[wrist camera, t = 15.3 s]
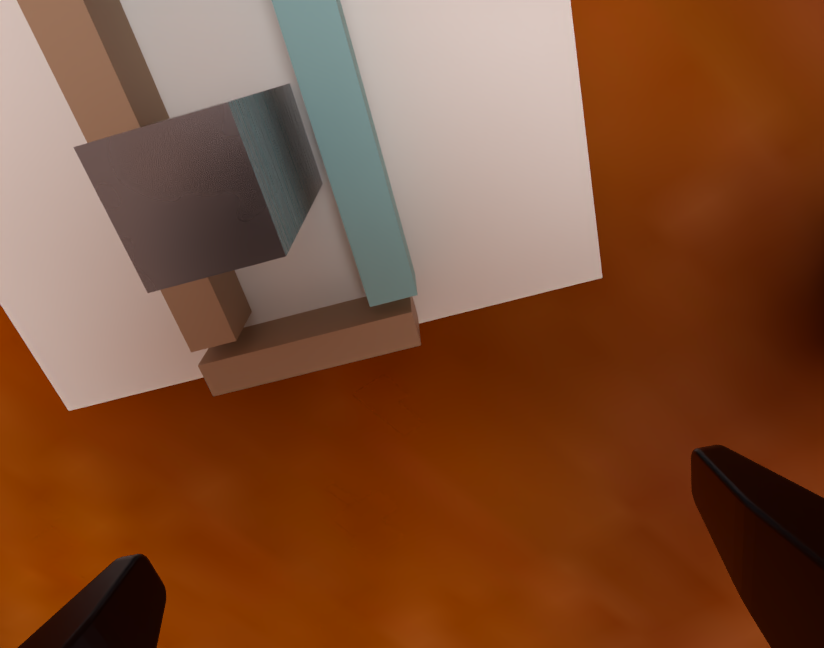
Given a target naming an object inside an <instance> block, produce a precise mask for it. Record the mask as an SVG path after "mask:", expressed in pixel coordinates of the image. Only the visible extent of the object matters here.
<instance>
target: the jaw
mask: <svg viewBox="0 0 824 648" xmlns="http://www.w3.org/2000/svg"><path fill="white" fill-rule="evenodd" d="M272 4H273V7H274V10H275V13H276V16H277V19H278V22H279V25H280V28H281V32H282V35H283V38H284V41H285V44H286V47H287V50H288V53H289V57H290V60H291V63H292V66H293V69H294V72H295V75H296V78H297V81H298V85H299V88H300V91H301V94H302V97H303V100H304V103H305V106H306V109H307V113H308V116H309V119H310V122H311V125H312V128H313V131H314V134H315V137H316V141H317V144H318V147H319V150H320V153H321V156H322V159H323V162H324V165H325V169H326V172H327V175H328V178H329V181H330V184H331V187H332V190H333V194H334V197H335V200H336V203H337V206H338V209H339V212H340V215H341V218H342V222H343V225H344V228H345V231H346V234H347V237H348V240H349V243H350V246H351V250H352V253H353V256H354V259H355V262H356V265H357V268H358V271H359V274H360V278H361V281H362V284H363V287H364V290H365V293H366V296H367V299H368V302H369V306H370V307H372V306H376V305H380V304H384V303H388V302H392V301H396V300H400V299H404V298H408V297H412V296H416V295H418V294H417V286H416V277H415V272H414V268H413V264H412V261H411V257H410V253H409V250H408V246H407V243H406V239H405V235H404V232H403V228H402V224H401V221H400V217H399V213H398V210H397V206H396V202H395V199H394V195H393V191H392V188H391V184H390V181H389V177H388V173H387V170H386V166H385V162H384V159H383V155H382V151H381V148H380V144H379V140H378V137H377V133H376V129H375V126H374V122H373V119H372V115H371V111H370V108H369V104H368V100H367V97H366V93H365V89H364V86H363V82H362V78H361V75H360V71H359V67H358V64H357V60H356V57H355V53H354V49H353V46H352V42H351V38H350V35H349V31H348V27H347V24H346V20H345V16H344V13H343V9H342V5H341V2H340V0H272Z"/></svg>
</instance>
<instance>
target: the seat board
mask: <svg viewBox="0 0 824 648" xmlns="http://www.w3.org/2000/svg"><path fill="white" fill-rule="evenodd" d="M340 2H341V5H342V9H343V13H344V16H345V20H346V24H347V27H348V31H349V35H350V38H351V42H352V46H353V49H354V53H355V57H356V60H357V64H358V67H359V71H360V75H361V78H362V82H363V86H364V89H365V93H366V97H367V100H368V104H369V108H370V111H371V115H372V119H373V122H374V126H375V129H376V133H377V137H378V140H379V144H380V148H381V151H382V155H383V159H384V162H385V166H386V170H387V173H388V177H389V181H390V184H391V188H392V191H393V195H394V199H395V202H396V206H397V210H398V213H399V217H400V221H401V224H402V228H403V232H404V235H405V239H406V243H407V246H408V250H409V253H410V257H411V261H412V264H413V268H414V272H415V277H416V286H417V294H418V295H416V296H412V297H408V298H404V299H400V300H396V301H392V302H388V303H384V304H380V305H376V306H372V307H370V306H369V302H368V299H367V296H366V293H365V290H364V287H363V284H362V281H361V278H360V274H359V271H358V268H357V265H356V262H355V259H354V256H353V253H352V250H351V246H350V243H349V240H348V237H347V234H346V231H345V228H344V225H343V222H342V218H341V215H340V212H339V209H338V206H337V203H336V200H335V197H334V194H333V190H332V187H331V184H330V181H329V178H328V175H327V172H326V169H325V165H324V162H323V159H322V156H321V153H320V150H319V147H318V144H317V141H316V137H315V134H314V131H313V128H312V125H311V122H310V119H309V116H308V113H307V109H306V106H305V103H304V100H303V97H302V94H301V91H300V88H299V85H298V81H297V78H296V75H295V72H294V69H293V66H292V63H291V60H290V57H289V53H288V50H287V47H286V44H285V41H284V38H283V35H282V32H281V28H280V25H279V22H278V19H277V16H276V13H275V10H274V7H273V4H272V0H0V304H1V306H2V308H3V309H4V311H5V312H6V314H7V315H8V317H9V318H10V320H11V322H12V323H13V325H14V326H15V328H16V329H17V331H18V333H19V334H20V336H21V337H22V339H23V340H24V342H25V343H26V345H27V347H28V348H29V350H30V351H31V353H32V354H33V356H34V358H35V359H36V361H37V362H38V364H39V365H40V367H41V368H42V370H43V372H44V373H45V375H46V376H47V378H48V379H49V381H50V382H51V384H52V386H53V387H54V389H55V390H56V392H57V393H58V395H59V397H60V398H61V400H62V401H63V403H64V404H65V406H66V407H67V409H68V411H71V410H75V409H79V408H83V407H87V406H91V405H95V404H99V403H103V402H107V401H111V400H115V399H119V398H123V397H127V396H131V395H135V394H139V393H143V392H147V391H151V390H155V389H159V388H163V387H167V386H171V385H175V384H179V383H183V382H187V381H191V380H195V379H199V378H203V377H204V379H205V381H206V383H207V385H208V387H209V389H210V391H211V393H212V395H213V396H217V395H222V394H226V393H230V392H234V391H238V390H242V389H246V388H250V387H254V386H258V385H262V384H266V383H270V382H274V381H278V380H282V379H286V378H291V377H295V376H299V375H303V374H307V373H311V372H315V371H319V370H323V369H327V368H331V367H335V366H339V365H343V364H347V363H351V362H355V361H360V360H364V359H368V358H372V357H376V356H380V355H384V354H388V353H392V352H396V351H400V350H404V349H408V348H412V347H416V346H420V345H421V339H420V330H419V324H420V323H424V322H428V321H432V320H436V319H440V318H444V317H448V316H452V315H456V314H460V313H464V312H468V311H472V310H476V309H480V308H484V307H488V306H492V305H496V304H500V303H504V302H508V301H512V300H516V299H520V298H524V297H528V296H532V295H536V294H540V293H544V292H548V291H552V290H556V289H560V288H564V287H568V286H572V285H576V284H580V283H584V282H588V281H592V280H596V279H600V278H603V277H602V269H601V260H600V251H599V243H598V234H597V226H596V217H595V209H594V200H593V191H592V183H591V174H590V166H589V157H588V148H587V140H586V131H585V123H584V114H583V106H582V97H581V88H580V80H579V71H578V63H577V54H576V45H575V37H574V28H573V20H572V11H571V3H570V0H340ZM289 83H290V86H291V89H292V92H293V95H294V98H295V101H296V104H297V107H298V110H299V113H300V116H301V119H302V122H303V125H304V128H305V131H306V134H307V137H308V140H309V143H310V146H311V149H312V152H313V155H314V158H315V161H316V165H317V168H318V171H319V174H320V177H321V180H322V183H323V184H322V186H321V188H320V190H319V192H318V194H317V196H316V198H315V200H314V202H313V204H312V206H311V208H310V210H309V212H308V214H307V216H306V218H305V220H304V222H303V224H302V226H301V228H300V230H299V232H298V234H297V236H296V238H295V240H294V242H293V244H292V246H291V248H290V250H289V252H288V254H287V256H286V257H282V258H278V259H275V260H271V261H267V262H263V263H260V264H256V265H252V266H248V267H245V268H241V269H237V270H233V271H230V272H226V273H222V274H218V275H214V276H211V277H207V278H203V279H199V280H196V281H192V282H188V283H184V284H181V285H177V286H173V287H169V288H166V289H162V290H158V291H154V292H151V293H147V291H146V289H145V287H144V285H143V283H142V281H141V279H140V277H139V275H138V273H137V271H136V269H135V267H134V265H133V263H132V261H131V259H130V257H129V255H128V253H127V251H126V250H125V248H124V246H123V244H122V242H121V240H120V238H119V236H118V234H117V232H116V230H115V228H114V226H113V224H112V222H111V220H110V218H109V216H108V214H107V212H106V210H105V208H104V206H103V204H102V202H101V201H100V199H99V197H98V195H97V193H96V191H95V189H94V187H93V185H92V183H91V181H90V179H89V177H88V175H87V173H86V171H85V169H84V167H83V165H82V163H81V161H80V159H79V157H78V155H77V153H76V151H75V150H74V148H73V147H76V146H79V145H82V144H86V143H89V142H92V141H96V140H99V139H102V138H106V137H109V136H112V135H116V134H119V133H122V132H126V131H129V130H132V129H136V128H139V127H142V126H146V125H149V124H152V123H156V122H159V121H162V120H166V119H169V118H172V117H176V116H179V115H182V114H186V113H189V112H192V111H196V110H199V109H203V108H206V107H210V106H213V105H216V104H220V103H223V102H227V101H230V100H234V99H237V98H241V97H244V96H247V95H251V94H254V93H258V92H261V91H265V90H268V89H271V88H275V87H278V86H282V85H285V84H289Z"/></svg>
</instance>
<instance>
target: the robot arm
mask: <svg viewBox="0 0 824 648" xmlns="http://www.w3.org/2000/svg"><path fill="white" fill-rule="evenodd" d="M691 485H692V495H693V498H694V501H695V504H696V506H697V508H698V510H699V512H700V514H701V517H702V519H703V521H704V523H705V525H706V527H707V529H708V531H709V533H710V535H711V537H712V539H713V542H714V544H715V546H716V548H717V550H718V552H719V554H720V556H721V558H722V560H723V562H724V564H725V566H726V569H727V571H728V573H729V575H730V577H731V579H732V581H733V583H734V585H735V587H736V589H737V591H738V593H739V595H740V597H741V599H742V600H743V602H744V604H745V606H746V607H747V609H748V611H749V612H750V614H751V616H752V617H753V619H754V621H755V622H756V624H757V626H758V627H759V629H760V630H761V632H762V634H763V635H764V637H765V638H766V640H767V642H768V643H769V645H770V647H771V648H824V498H822V497H821V496H819V495H817V494H815V493H813V492H811V491H809V490H807V489H805V488H803V487H801V486H799V485H798V484H796V483H794V482H792V481H790V480H788V479H786V478H784V477H782V476H780V475H778V474H776V473H775V472H773V471H771V470H769V469H767V468H765V467H763V466H761V465H759V464H757V463H755V462H753V461H752V460H750V459H748V458H746V457H744V456H742V455H740V454H738V453H736V452H734V451H732V450H730V449H729V448H727V447H724V446H722V445H712V446H707V447H702V448H697V449H695V450H694V451H693V452H692V455H691ZM165 603H166V590H165V586H164V584H163V582H162V581H161V579H160V577H159V576H158V574H157V572H156V571H155V569H154V568H153V566H152V564H151V563H150V561H149V559H148V558H147V557H146V556H144V555H143V554H135V555H130V556H125V557H121V558H118V559H116V560H115V561H114V562H112V563H111V564H110V565H109V566H108V567H107V568H106V569H105V570H103V571H102V572H101V573H100V574H99V575H98V576H97V577H96V578H95V579H93V580H92V581H91V582H90V583H89V584H88V585H87V586H86V587H85V588H84V589H82V590H81V591H80V592H79V593H78V594H77V595H76V596H75V597H74V598H72V599H71V600H70V601H69V602H68V603H67V604H66V605H65V606H64V607H62V608H61V609H60V610H59V611H58V612H57V613H56V614H55V615H54V616H52V617H51V618H50V619H49V620H48V621H47V622H46V623H45V624H44V625H42V626H41V627H40V628H39V629H38V630H37V631H36V632H35V633H34V634H32V635H31V636H30V637H29V638H28V639H27V640H26V641H25V642H24V643H22V644H21V645H20V646H19V647H18V648H157V643H158V638H159V633H160V628H161V623H162V618H163V613H164V608H165Z"/></svg>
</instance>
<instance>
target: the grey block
mask: <svg viewBox="0 0 824 648" xmlns="http://www.w3.org/2000/svg"><path fill="white" fill-rule="evenodd" d="M73 148H74V150H75V151H76V153H77V155H78V157H79V159H80V161H81V163H82V165H83V167H84V169H85V171H86V173H87V175H88V177H89V179H90V181H91V183H92V185H93V187H94V189H95V191H96V193H97V195H98V197H99V199H100V201H101V202H102V204H103V206H104V208H105V210H106V212H107V214H108V216H109V218H110V220H111V222H112V224H113V226H114V228H115V230H116V232H117V234H118V236H119V238H120V240H121V242H122V244H123V246H124V248H125V250H126V251H127V253H128V255H129V257H130V259H131V261H132V263H133V265H134V267H135V269H136V271H137V273H138V275H139V277H140V279H141V281H142V283H143V285H144V287H145V289H146V291H147V293H151V292H154V291H158V290H162V289H166V288H169V287H173V286H177V285H181V284H184V283H188V282H192V281H196V280H199V279H203V278H207V277H211V276H214V275H218V274H222V273H226V272H230V271H233V270H237V269H241V268H245V267H248V266H252V265H256V264H260V263H263V262H267V261H271V260H275V259H278V258H282V257H286V256H287V254H288V252H289V250H290V248H291V246H292V244H293V242H294V240H295V238H296V236H297V234H298V232H299V230H300V228H301V226H302V224H303V222H304V220H305V218H306V216H307V214H308V212H309V210H310V208H311V206H312V204H313V202H314V200H315V198H316V196H317V194H318V192H319V190H320V188H321V186H322V184H323V183H322V180H321V177H320V174H319V171H318V168H317V165H316V161H315V158H314V155H313V152H312V149H311V146H310V143H309V140H308V137H307V134H306V131H305V128H304V125H303V122H302V119H301V116H300V113H299V110H298V107H297V104H296V101H295V98H294V95H293V92H292V89H291V86H290V83H289V84H285V85H282V86H278V87H275V88H271V89H268V90H265V91H261V92H258V93H254V94H251V95H247V96H244V97H241V98H237V99H234V100H230V101H227V102H223V103H220V104H216V105H213V106H210V107H206V108H203V109H199V110H196V111H192V112H189V113H186V114H182V115H179V116H176V117H172V118H169V119H166V120H162V121H159V122H156V123H152V124H149V125H146V126H142V127H139V128H136V129H132V130H129V131H126V132H122V133H119V134H116V135H112V136H109V137H106V138H102V139H99V140H96V141H92V142H89V143H86V144H82V145H79V146H76V147H73Z"/></svg>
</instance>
